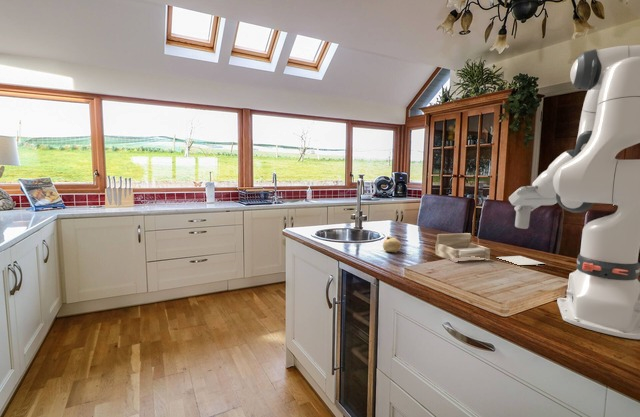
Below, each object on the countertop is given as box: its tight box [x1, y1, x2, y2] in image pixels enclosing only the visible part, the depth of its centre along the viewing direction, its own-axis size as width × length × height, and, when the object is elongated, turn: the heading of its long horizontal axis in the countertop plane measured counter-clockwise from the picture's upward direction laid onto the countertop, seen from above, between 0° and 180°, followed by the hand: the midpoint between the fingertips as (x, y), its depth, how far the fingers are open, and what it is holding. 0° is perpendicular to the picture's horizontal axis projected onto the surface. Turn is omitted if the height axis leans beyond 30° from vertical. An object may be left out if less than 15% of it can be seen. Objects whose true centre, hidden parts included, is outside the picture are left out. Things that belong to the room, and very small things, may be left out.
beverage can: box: [514, 205, 532, 230], centre depth 132 cm, size 5×5×12 cm
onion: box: [382, 236, 402, 254], centre depth 147 cm, size 8×8×7 cm
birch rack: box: [434, 232, 491, 260], centre depth 139 cm, size 14×16×9 cm
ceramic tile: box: [496, 255, 546, 266], centre depth 134 cm, size 12×12×1 cm
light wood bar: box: [457, 248, 485, 258], centre depth 134 cm, size 4×12×4 cm, turn 104°
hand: (522, 209), depth 132 cm, fingers closed on beverage can, 5 cm apart
